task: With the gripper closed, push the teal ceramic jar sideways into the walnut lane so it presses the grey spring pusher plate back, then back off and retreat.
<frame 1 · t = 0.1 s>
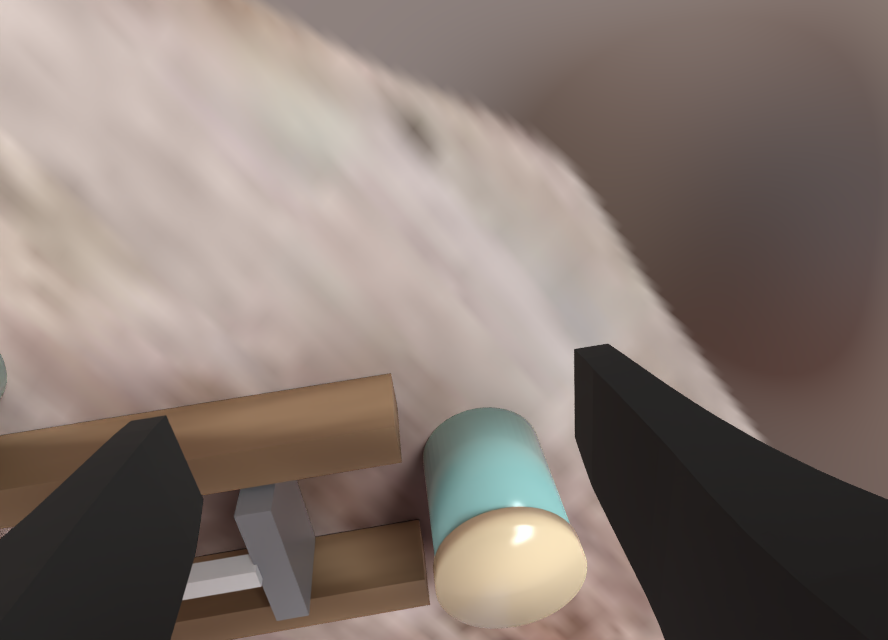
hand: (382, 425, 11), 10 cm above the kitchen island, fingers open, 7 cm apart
pusher: (158, 552, 23), point 2 cm above the kitchen island, slide at 0.0 cm
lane: (186, 503, 25), on the kitchen island
jar: (481, 454, 25), on the kitchen island
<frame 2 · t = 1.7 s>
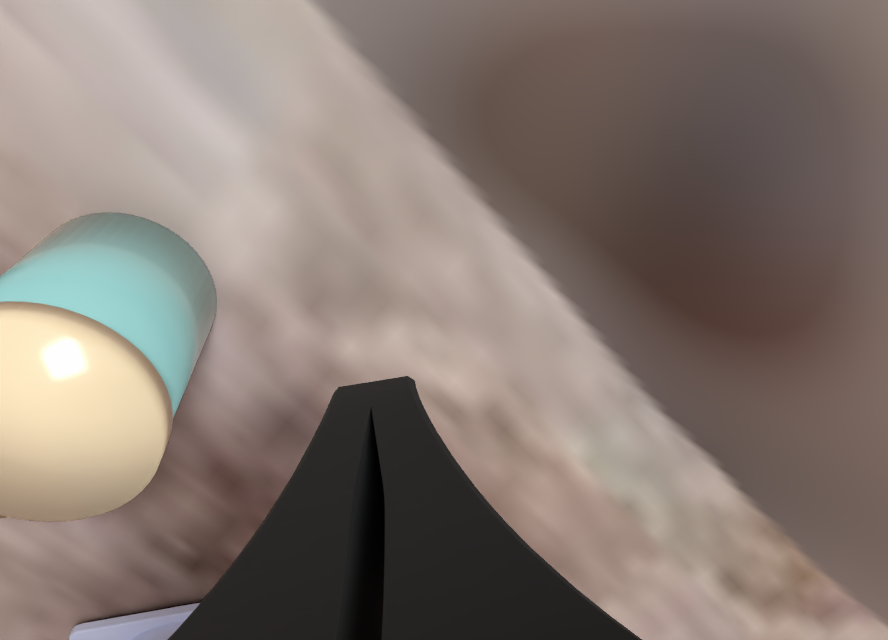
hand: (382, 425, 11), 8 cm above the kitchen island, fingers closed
jar: (128, 293, 17), on the kitchen island
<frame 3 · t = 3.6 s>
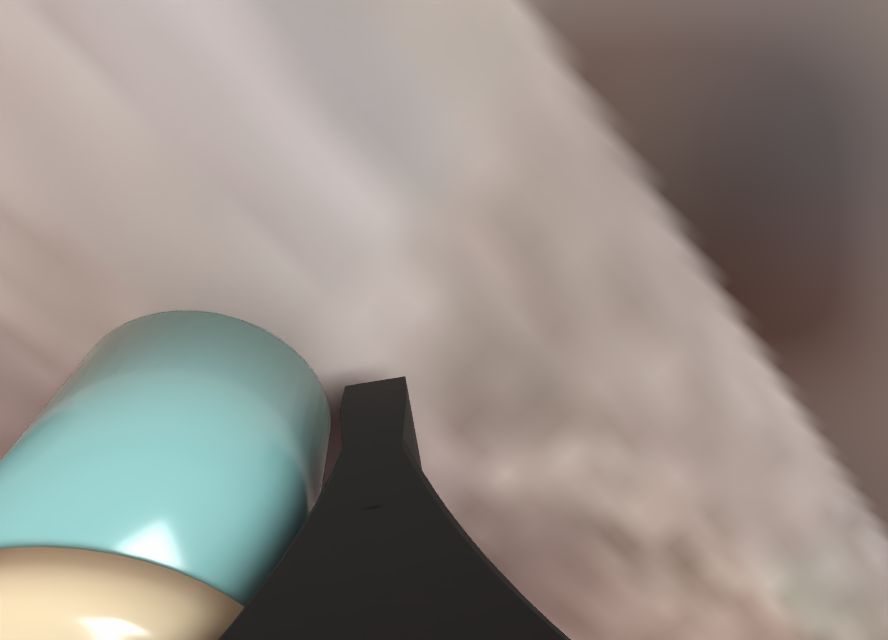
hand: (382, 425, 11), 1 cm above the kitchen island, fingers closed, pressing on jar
jar: (206, 418, 12), on the kitchen island, touching gripper
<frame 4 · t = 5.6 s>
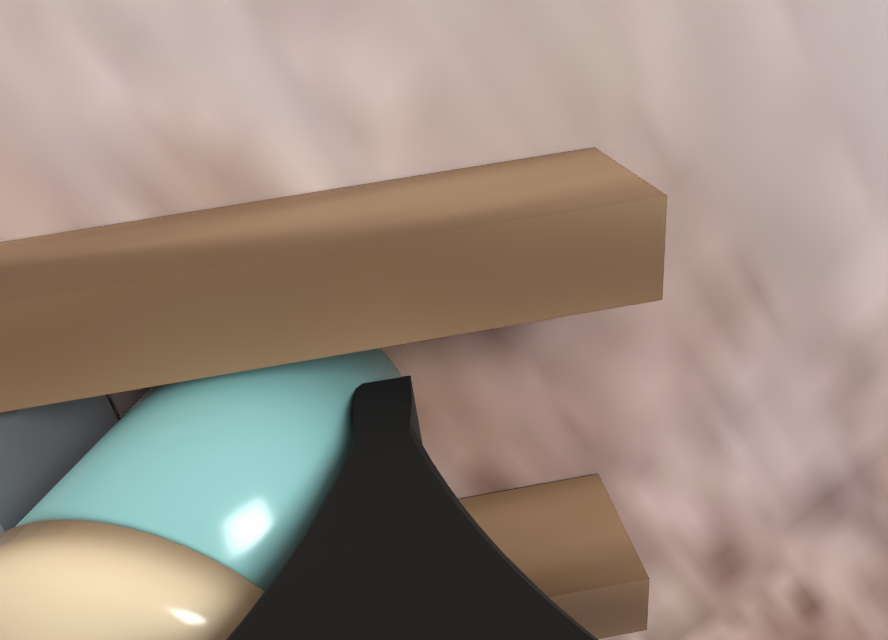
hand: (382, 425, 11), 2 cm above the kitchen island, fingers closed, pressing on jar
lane: (178, 438, 13), on the kitchen island
jar: (300, 409, 12), resting in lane, tilted 16°, touching gripper, pusher
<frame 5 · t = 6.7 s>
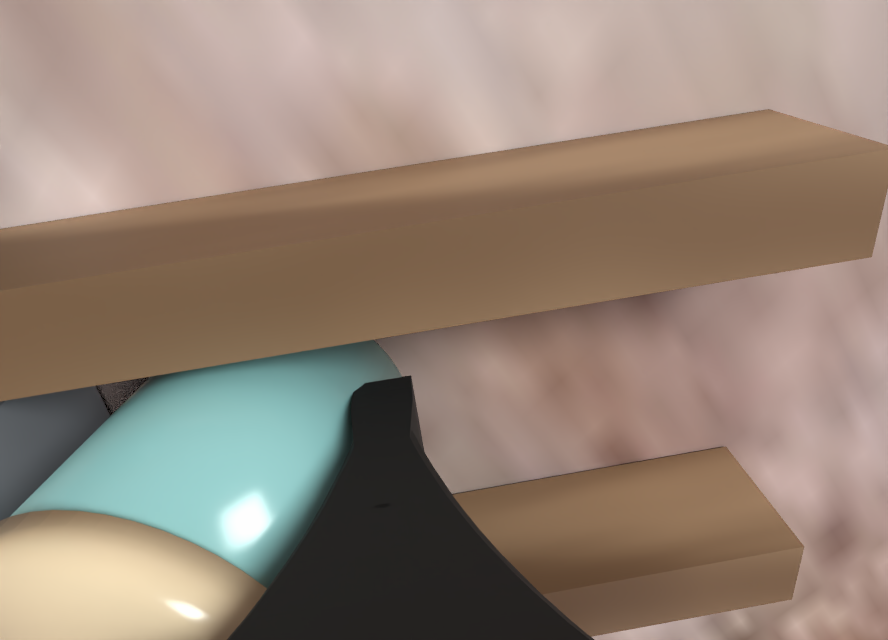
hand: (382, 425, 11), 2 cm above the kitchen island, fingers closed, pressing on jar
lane: (322, 406, 13), on the kitchen island
jar: (297, 403, 12), resting in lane, tilted 16°, touching gripper
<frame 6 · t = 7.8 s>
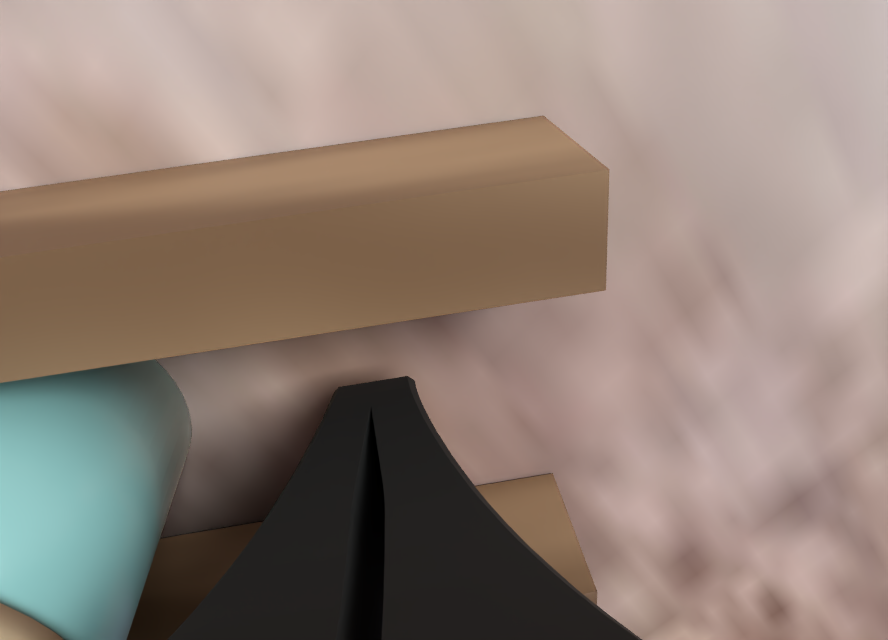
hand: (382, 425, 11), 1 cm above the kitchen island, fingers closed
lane: (88, 431, 12), on the kitchen island
jar: (56, 423, 12), resting in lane
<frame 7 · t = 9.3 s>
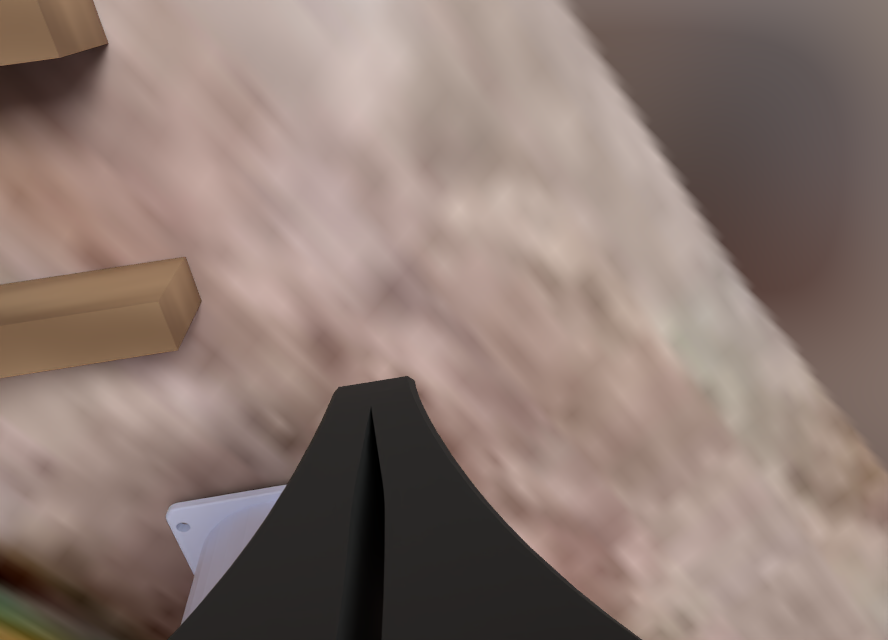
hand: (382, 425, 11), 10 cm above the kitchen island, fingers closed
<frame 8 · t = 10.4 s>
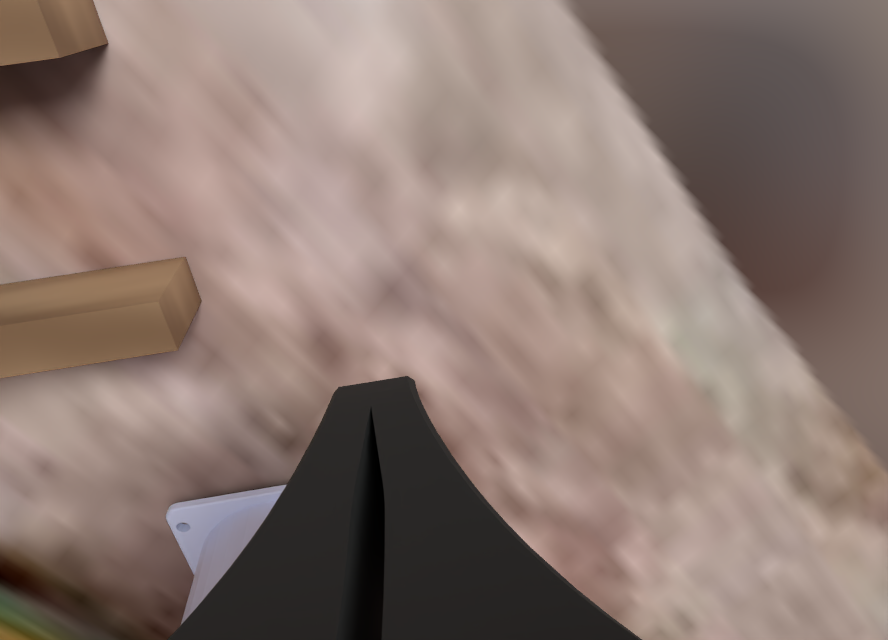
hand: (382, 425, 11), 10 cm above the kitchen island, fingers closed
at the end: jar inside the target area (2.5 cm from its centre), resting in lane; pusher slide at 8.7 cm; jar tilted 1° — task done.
